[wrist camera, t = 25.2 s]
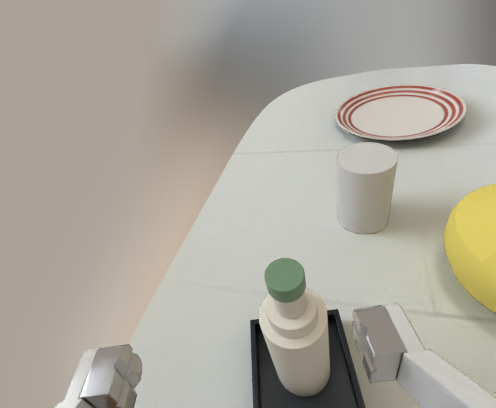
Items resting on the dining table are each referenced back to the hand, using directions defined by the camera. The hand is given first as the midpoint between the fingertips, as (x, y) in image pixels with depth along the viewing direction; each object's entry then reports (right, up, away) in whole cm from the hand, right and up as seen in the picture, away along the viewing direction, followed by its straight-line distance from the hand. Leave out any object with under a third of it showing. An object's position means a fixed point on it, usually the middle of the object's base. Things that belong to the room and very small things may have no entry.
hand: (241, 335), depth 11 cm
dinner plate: (+36, +25, +61) cm, 75 cm away
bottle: (+6, -14, +23) cm, 28 cm away
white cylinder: (+20, +2, +40) cm, 44 cm away
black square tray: (+7, -15, +24) cm, 29 cm away
